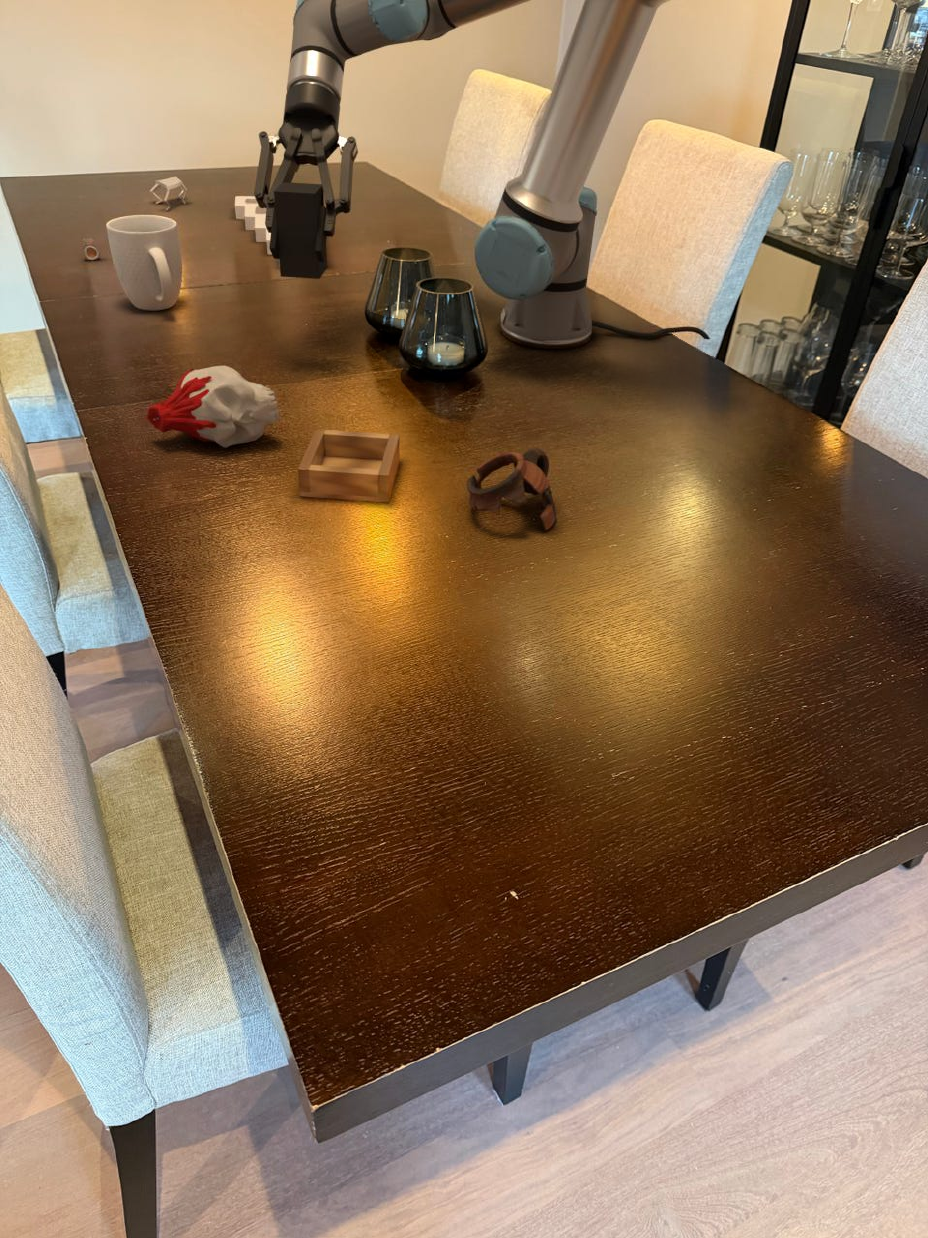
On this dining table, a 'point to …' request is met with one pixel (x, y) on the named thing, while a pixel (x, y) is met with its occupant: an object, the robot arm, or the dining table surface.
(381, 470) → the open wooden box
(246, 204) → the holder
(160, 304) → the mug
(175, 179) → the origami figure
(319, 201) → the black block
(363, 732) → the dining table surface
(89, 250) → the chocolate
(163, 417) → the white red lumpy piece
